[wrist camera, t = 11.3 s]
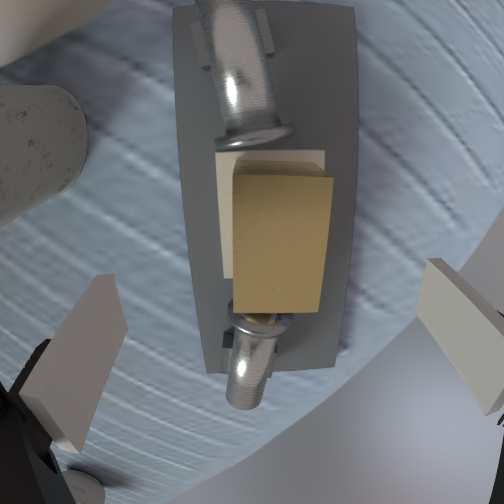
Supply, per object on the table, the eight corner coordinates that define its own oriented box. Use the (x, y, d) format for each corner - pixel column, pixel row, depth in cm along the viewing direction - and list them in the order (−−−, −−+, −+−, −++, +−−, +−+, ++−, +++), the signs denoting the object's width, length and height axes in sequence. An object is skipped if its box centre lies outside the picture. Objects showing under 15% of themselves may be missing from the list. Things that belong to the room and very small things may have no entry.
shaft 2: (267, 369, 28) (271, 418, 23) (219, 365, 28) (215, 414, 23) (287, 287, 24) (297, 334, 19) (229, 280, 24) (225, 327, 19)
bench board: (208, 364, 29) (206, 373, 28) (176, 12, 17) (172, 7, 16) (331, 358, 29) (334, 367, 28) (348, 12, 17) (353, 7, 16)
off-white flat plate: (224, 274, 24) (223, 278, 23) (216, 151, 20) (215, 152, 19) (317, 271, 24) (319, 274, 23) (322, 149, 20) (324, 150, 19)
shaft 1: (192, 19, 16) (174, -11, 11) (259, 5, 16) (263, -29, 11) (221, 143, 20) (212, 154, 15) (288, 130, 19) (303, 136, 14)
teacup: (89, 467, 42) (79, 501, 35) (119, 491, 46) (112, 521, 39) (41, 458, 43) (30, 487, 36) (71, 482, 48) (63, 509, 40)
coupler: (235, 160, 20) (232, 174, 15) (313, 162, 20) (333, 177, 15) (235, 272, 23) (233, 312, 18) (304, 272, 23) (317, 312, 19)
